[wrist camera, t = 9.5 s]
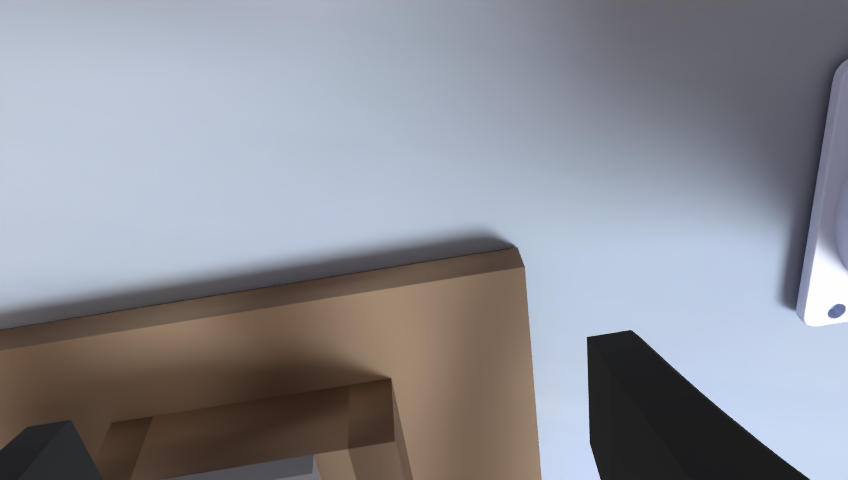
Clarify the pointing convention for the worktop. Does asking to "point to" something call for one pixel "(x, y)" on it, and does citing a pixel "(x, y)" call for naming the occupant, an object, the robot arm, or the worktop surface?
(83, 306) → the worktop surface
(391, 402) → the dock
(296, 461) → the servo block
